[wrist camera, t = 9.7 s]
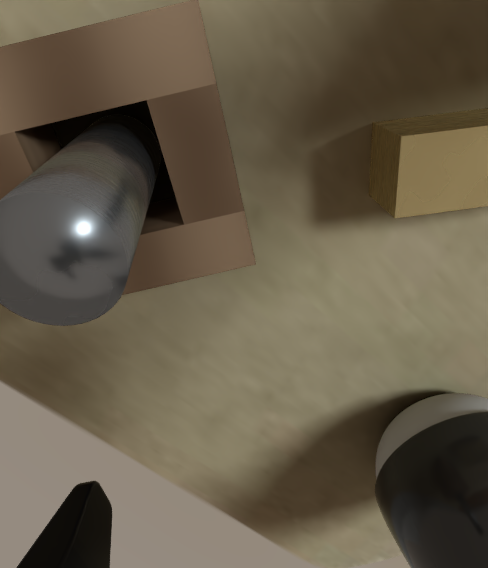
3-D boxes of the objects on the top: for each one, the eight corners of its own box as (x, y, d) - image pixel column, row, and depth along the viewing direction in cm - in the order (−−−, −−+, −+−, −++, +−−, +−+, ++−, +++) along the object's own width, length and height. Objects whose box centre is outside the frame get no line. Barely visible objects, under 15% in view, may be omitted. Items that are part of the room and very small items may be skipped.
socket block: (197, 6, 16) (197, -2, 13) (247, 230, 20) (255, 264, 17) (-41, 64, 16) (-97, 70, 13) (61, 272, 20) (38, 314, 17)
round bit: (147, 106, 17) (94, 176, 8) (170, 182, 19) (147, 308, 10) (69, 124, 17) (-61, 213, 8) (99, 199, 19) (15, 338, 10)
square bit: (550, 99, 19) (612, 109, 16) (533, 171, 20) (586, 192, 18) (370, 121, 18) (401, 136, 16) (367, 193, 20) (394, 218, 17)
